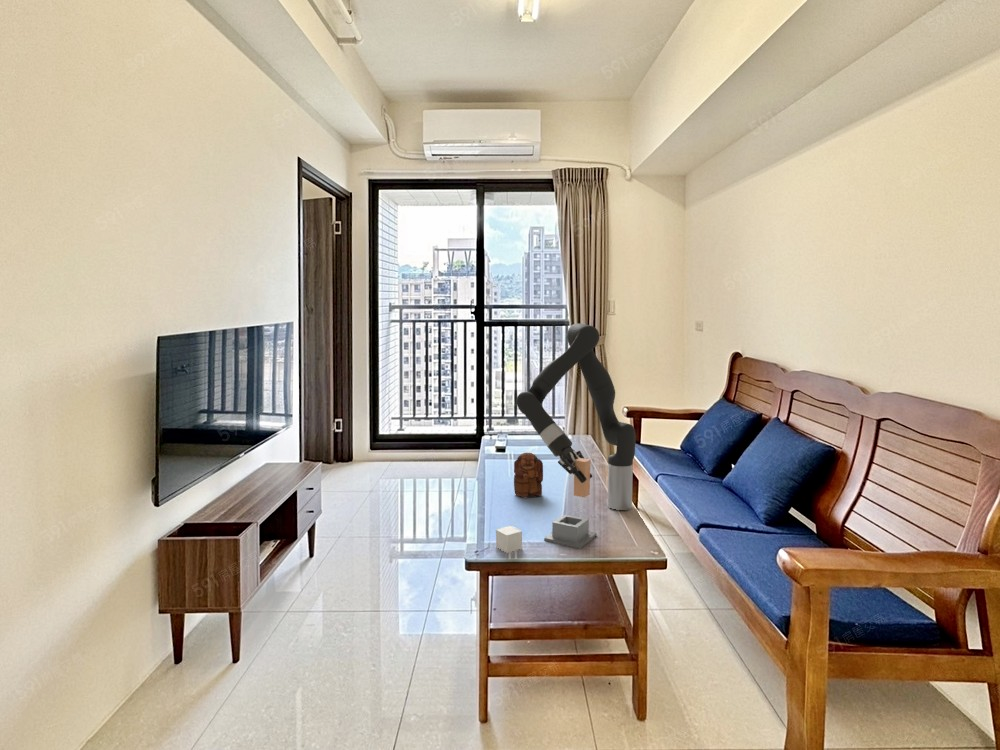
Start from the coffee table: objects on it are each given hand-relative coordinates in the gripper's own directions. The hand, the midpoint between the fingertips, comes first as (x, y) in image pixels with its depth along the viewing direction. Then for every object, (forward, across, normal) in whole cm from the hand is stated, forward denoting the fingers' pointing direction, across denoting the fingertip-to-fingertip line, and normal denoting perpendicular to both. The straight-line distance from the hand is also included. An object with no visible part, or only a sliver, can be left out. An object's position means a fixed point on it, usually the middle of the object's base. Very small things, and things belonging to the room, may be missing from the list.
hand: (587, 479), depth 191 cm
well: (+11, -4, +17) cm, 20 cm away
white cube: (+3, -22, +26) cm, 34 cm away
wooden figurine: (-14, +29, +42) cm, 52 cm away
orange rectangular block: (+3, 0, +5) cm, 6 cm away
